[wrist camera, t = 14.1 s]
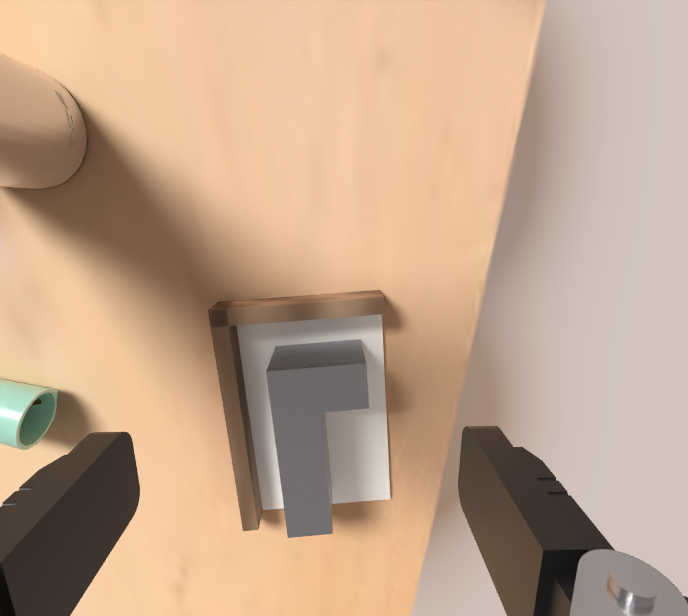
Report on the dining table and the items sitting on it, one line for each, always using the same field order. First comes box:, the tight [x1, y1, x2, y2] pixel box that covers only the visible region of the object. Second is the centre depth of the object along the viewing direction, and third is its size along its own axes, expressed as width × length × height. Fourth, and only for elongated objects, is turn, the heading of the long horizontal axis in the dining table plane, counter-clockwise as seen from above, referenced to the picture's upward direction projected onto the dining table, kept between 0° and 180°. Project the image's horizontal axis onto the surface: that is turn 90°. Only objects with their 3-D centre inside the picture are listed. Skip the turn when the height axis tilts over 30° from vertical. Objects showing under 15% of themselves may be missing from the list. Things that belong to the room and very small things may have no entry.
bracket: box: [266, 339, 369, 538], centre depth 36 cm, size 16×8×6 cm, turn 4°
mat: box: [237, 314, 390, 510], centre depth 39 cm, size 14×21×1 cm, turn 4°
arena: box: [208, 290, 385, 531], centre depth 38 cm, size 15×22×3 cm, turn 4°
